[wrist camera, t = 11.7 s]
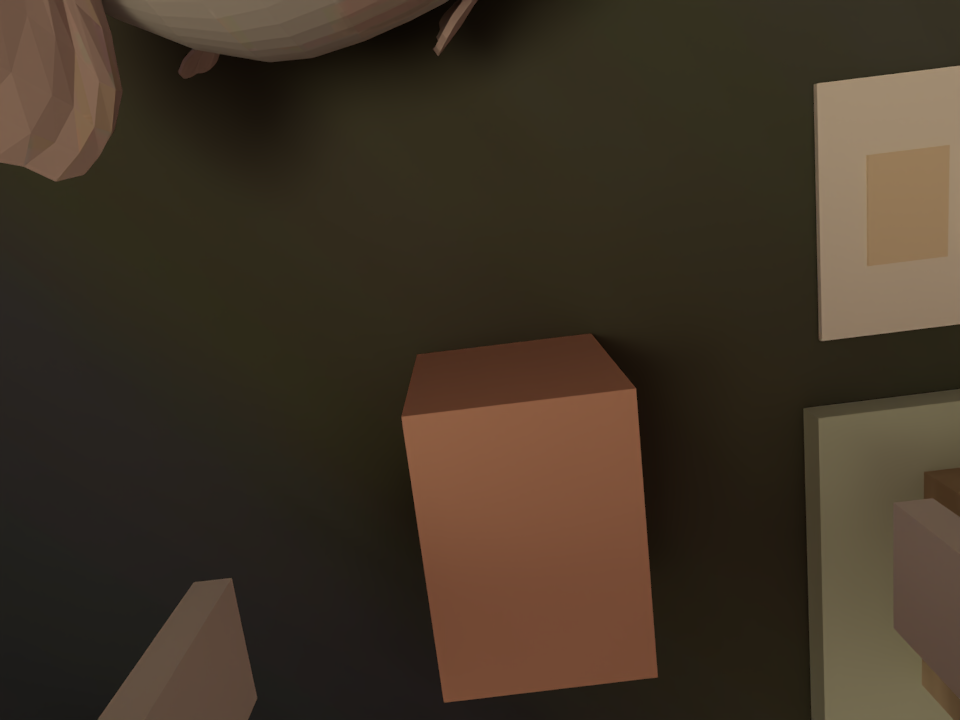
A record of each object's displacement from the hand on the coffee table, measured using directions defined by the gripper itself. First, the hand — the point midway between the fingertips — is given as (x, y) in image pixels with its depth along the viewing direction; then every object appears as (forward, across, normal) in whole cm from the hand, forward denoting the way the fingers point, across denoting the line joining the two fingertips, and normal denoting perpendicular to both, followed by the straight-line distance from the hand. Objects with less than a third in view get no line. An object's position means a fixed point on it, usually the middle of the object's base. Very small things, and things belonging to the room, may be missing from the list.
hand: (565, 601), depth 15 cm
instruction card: (+8, +14, +6) cm, 17 cm away
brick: (+8, -1, 0) cm, 8 cm away
